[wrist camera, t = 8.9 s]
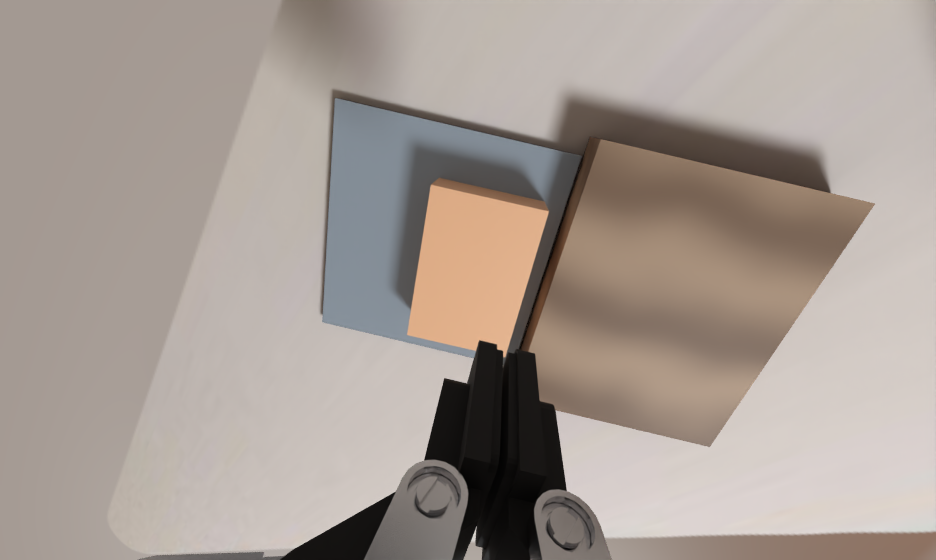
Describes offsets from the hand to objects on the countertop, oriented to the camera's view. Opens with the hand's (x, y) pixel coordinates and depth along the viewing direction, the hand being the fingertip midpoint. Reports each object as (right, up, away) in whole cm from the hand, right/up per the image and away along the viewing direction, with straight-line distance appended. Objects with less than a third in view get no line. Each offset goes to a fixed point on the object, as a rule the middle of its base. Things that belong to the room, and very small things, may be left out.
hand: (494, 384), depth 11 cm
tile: (-1, +4, +10) cm, 11 cm away
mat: (-3, +5, +12) cm, 13 cm away
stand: (+10, +2, +12) cm, 16 cm away
